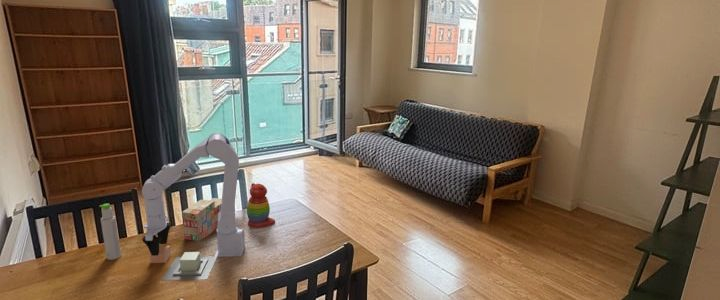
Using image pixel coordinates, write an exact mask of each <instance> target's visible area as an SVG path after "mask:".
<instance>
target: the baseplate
mask: <svg viewBox="0 0 720 300" xmlns="http://www.w3.org/2000/svg"><path fill="white" fill-rule="evenodd" d="M181 257H182V256H176V257H175V259H174V261H173V262H172V263H171V265H170V267H169V268H168V270H167V271H166V273H165V274H164V276H163V278H162V279H161V281H193V280H194V281H195V280H197V281H199V280H201V281H202V280H208V277H209V276H210V273H211V272H212V269H213V267H214V264H215V262H216V260H217V258H218V255H217V256H215V255H214V256H211V255H209V256H208V255H207V256H200V261H201V264H200V266H199V268H198V270H197V271H192V272H181V267H180V259H181Z"/></svg>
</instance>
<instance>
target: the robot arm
mask: <svg viewBox="0 0 720 300" xmlns="http://www.w3.org/2000/svg"><path fill="white" fill-rule="evenodd" d="M210 156H211V157H213V158H214V159H217V160H219V161H221V162H222V163H223V164H224V170H223V173H224V174H223V182H222V195H221V199H222V203H221V209H220V211H219V212H218V215H217V218H218V224H217V228H216V240H217V241H216V244H217V250H216V252H215V254H214V256H217V257H242V255H243V253H244V250H245V248H246V237H245V236H246V235H245V229H243V228H239V227H238V225H237V223H236V212H235V205H236V204H235V203H236V197H237V196H236V194H237V185H238V174H239V163H240V160H239V159H240V158H239V154H238V153H237V151H236V150H235V148H234V146H233V145H232V143H231V141H230V139H229V138H228V137H227V136H225V135H224V134H223V133H220V132H213V133H212V134H210V135H209V136H208V137H206V138H204V139H202V140H201V141H200V142H199V143H197V144H196V145H195V146H194V147H193V148H192V149H191V150H189V152H187V153H186V154H185V155H184V156H183V157H181V158H180V159H179V160H178V161H176V162H175V163H168V164H164V165H163V166H162V167H161V170H159V171H158V172H157V173H156V174H155V175H154V174H153V175H151V176H150V178H148V179H146V181H144V184H143V187H142V188H141V194H142V196H143V197H144V210H145V217H146V218H145V219H146V224H144V225H143V229H146V233H145V234H144V236H143V237H142V238H141V240H142V242H143V243H144V244H145V246H146V247H147V249H148V251H149V253H151V255H152V256H157V255H159V246H161V245H167V244H168V240H169V239H168V238H169V233H170V229H171V227H172V222H169V221H168V220H169V218H168V215H166V211H165V201H164V197H163V196H164V195H163V191H164V190H166V189H168V188H169V187H170V186H171V185H172V184H174V183H175V182H176V181H178V180H179V179H180V178H181V177H182V173H183V172H184V170H186V168H188V167H189V166H191V165H193V164H194V163H195V162H196V161H198V160H199V159H200V158H207V159H208V158H210Z"/></svg>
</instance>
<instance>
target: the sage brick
mask: <svg viewBox="0 0 720 300" xmlns="http://www.w3.org/2000/svg"><path fill="white" fill-rule="evenodd" d="M180 257H181V259H180V267H181V272H192V271H197V270H198V268H199V266H200V264H201V261H200V257H201V252H200V251H185V252H183V254H182V256H180Z"/></svg>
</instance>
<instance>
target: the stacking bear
mask: <svg viewBox="0 0 720 300" xmlns="http://www.w3.org/2000/svg"><path fill="white" fill-rule="evenodd" d="M250 186H251V187H250V189H249V194H250V198H248V201H247V205H246V214H247V219H248V221H247V226H248V227H250V228H251V229H252V228H253V229H263V228H267V227H271V226H273V225H275V224H276V220H275V219H274V218H271V217H269V216H270V209H271V208H270V204H269V200H268V197H267V196H266V195H267V194H268V188H266V186H265V185H264V184H262V183H254V182H252V183H251V184H250Z"/></svg>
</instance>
